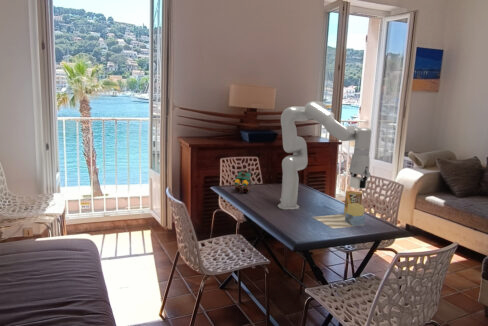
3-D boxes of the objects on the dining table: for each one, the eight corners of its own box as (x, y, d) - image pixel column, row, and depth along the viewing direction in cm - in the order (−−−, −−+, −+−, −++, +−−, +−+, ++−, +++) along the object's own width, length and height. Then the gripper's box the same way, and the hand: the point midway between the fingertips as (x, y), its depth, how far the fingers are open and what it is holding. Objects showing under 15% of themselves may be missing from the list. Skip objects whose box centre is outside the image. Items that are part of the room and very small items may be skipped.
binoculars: (232, 195, 265) (229, 179, 255) (238, 182, 275) (235, 166, 265) (252, 198, 261) (250, 181, 251) (257, 184, 271) (255, 168, 261)
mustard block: (346, 212, 204) (347, 203, 204) (355, 212, 207) (356, 203, 206) (354, 216, 199) (355, 207, 198) (363, 215, 201) (364, 206, 201)
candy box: (359, 217, 219) (362, 191, 216) (359, 219, 215) (362, 192, 212) (343, 215, 221) (346, 189, 219) (343, 217, 217) (346, 191, 214)
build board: (311, 219, 211) (312, 208, 210) (341, 216, 219) (342, 205, 218) (332, 230, 194) (333, 218, 193) (364, 227, 202) (365, 215, 201)
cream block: (349, 186, 202) (350, 177, 201) (358, 185, 204) (359, 176, 203) (357, 189, 197) (358, 179, 196) (366, 188, 199) (367, 179, 198)
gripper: (344, 149, 204) (341, 183, 207) (367, 154, 188) (363, 190, 191) (356, 149, 207) (353, 182, 210) (379, 154, 191) (375, 190, 194)
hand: (358, 186), depth 200 cm, fingers closed on cream block, 6 cm apart
